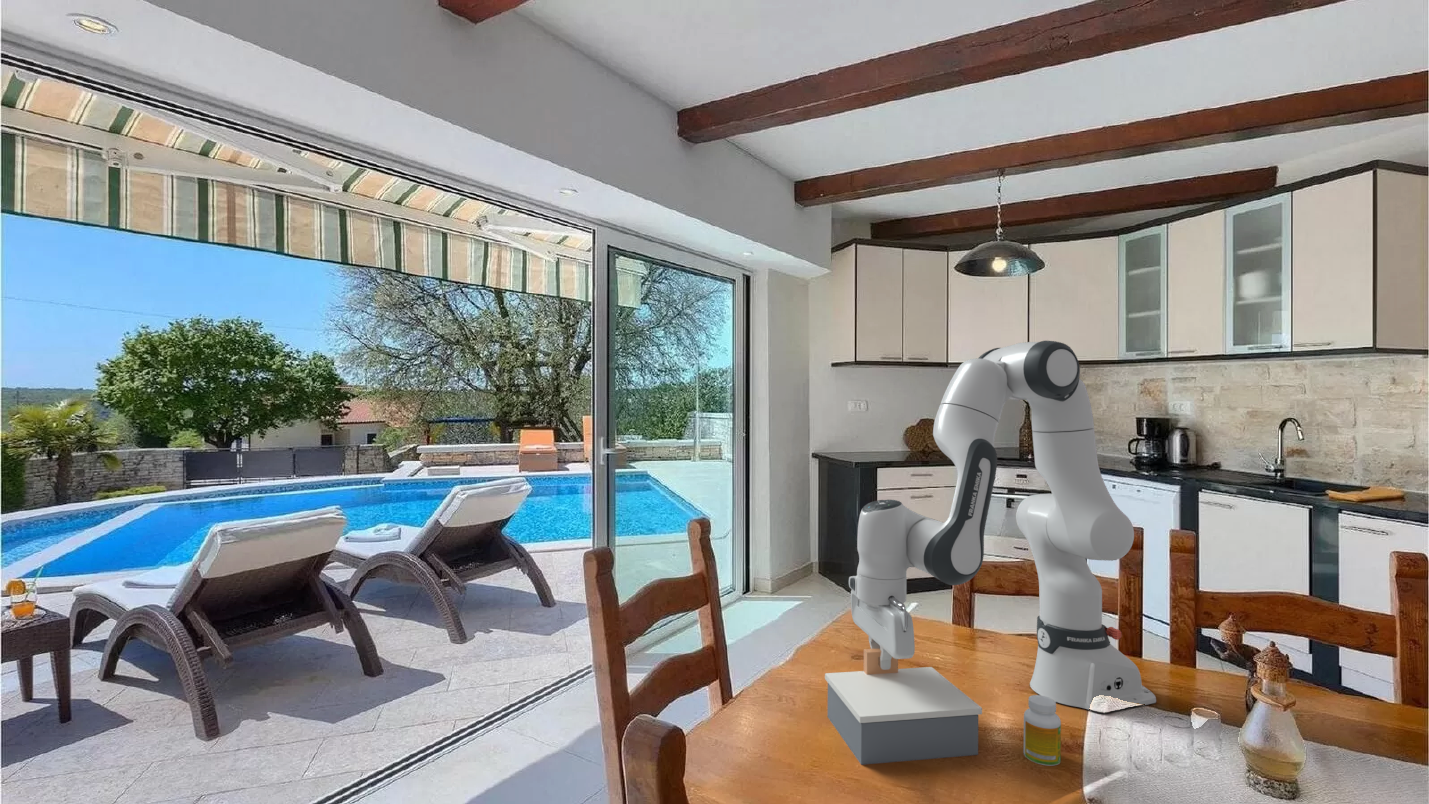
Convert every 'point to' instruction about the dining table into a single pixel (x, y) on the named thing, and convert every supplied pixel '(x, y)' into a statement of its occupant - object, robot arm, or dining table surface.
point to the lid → (898, 692)
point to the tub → (903, 735)
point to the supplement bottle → (1042, 731)
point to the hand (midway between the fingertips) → (880, 664)
